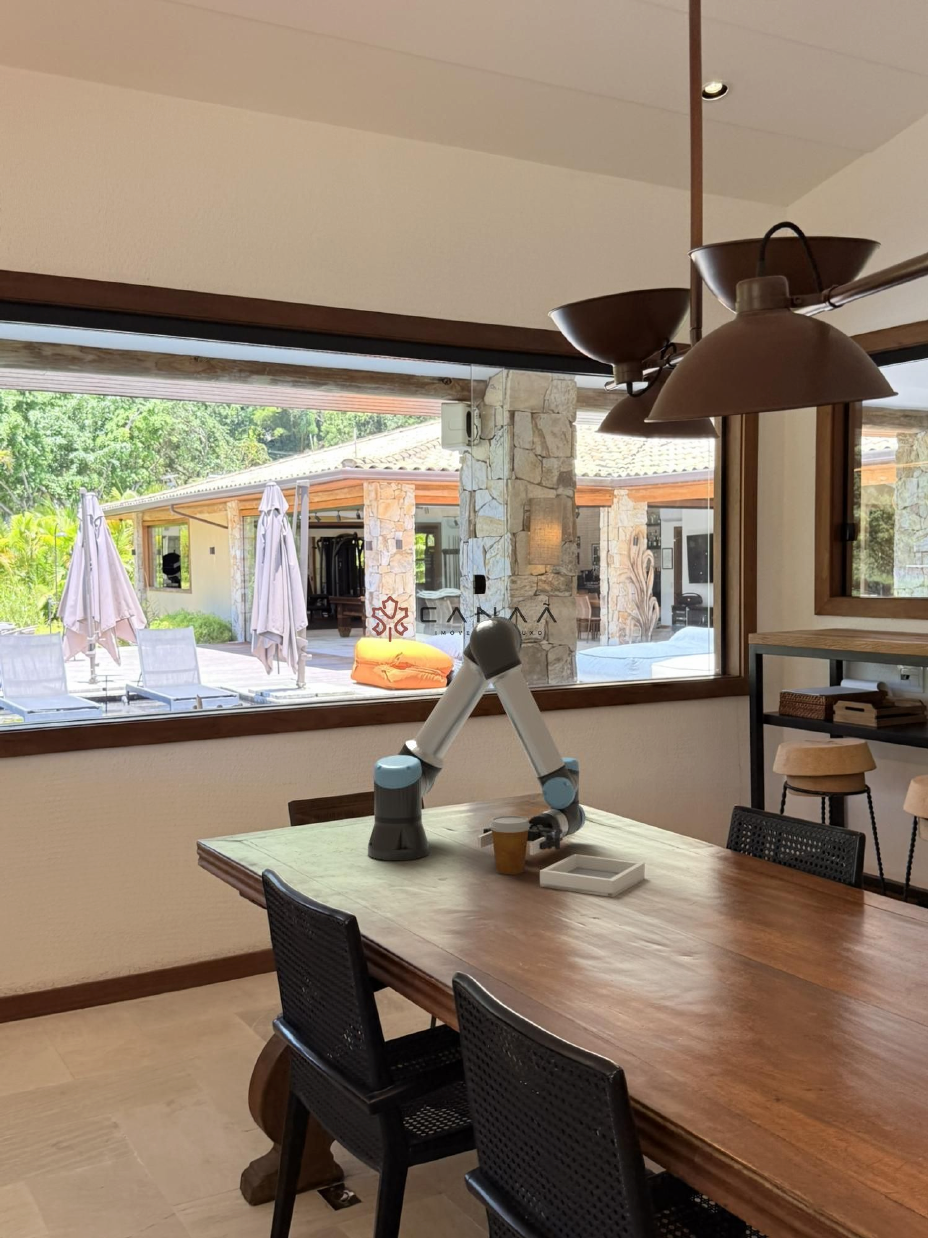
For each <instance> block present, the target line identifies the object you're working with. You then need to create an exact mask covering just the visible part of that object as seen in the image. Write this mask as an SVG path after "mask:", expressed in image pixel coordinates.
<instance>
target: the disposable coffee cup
mask: <svg viewBox="0 0 928 1238" xmlns="http://www.w3.org/2000/svg"><path fill="white" fill-rule="evenodd" d="M488 826H489V828H490V829H491V831H492V839H493V843H492V846H493V853H494V861H495V868H496V872H497V873H500V874H504V875H516V874H521V873H524V871H525V863H526V853H527V852H526V851H527V845H528V841H527V837H528V829H529V827H530V824H529V818H528V817H525V816H520V815H500V816H494V817H492V818H491V819H490V823H489V825H488Z"/></svg>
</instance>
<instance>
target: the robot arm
mask: <svg viewBox="0 0 928 1238" xmlns="http://www.w3.org/2000/svg"><path fill="white" fill-rule="evenodd" d="M469 637H470V638H469V642H468V644H467V646H466V647H465V648H464V649H463V651H462V659H463V663H462V664H461V666H460V668H458V670H457V672H456V674H455V675H454V677H453V678H452V680H451V682H450V683H449V684H448V686H447V688H446V690H444V693H443V694H442V696H441V697H440V698H439V700H438V702H437V703H436V705H435V706H434V708H433V710H432V711H431V713H430V714H429V716H428V718H427V719H426V721H425V722H424V724H423V725H422V727H421V729H420V730H419V731H418V733H417V735H416V736H415V737H414V738H413V739H410V740H406V741H405V742H404V744H403V746H402V747H401V748H400V750H399V752H398V753H397V754H396V755H389V756H387V757H382V758H380V759H378V760H377V761H376V762H375V763H374V768H373V772H372V773H373V774H372V775H373V776H372V778H373V798H374V800H373V801H374V802H373V804H374V805H373V806H374V808H373V809H374V813H373V814H374V823H373V827H372V831H371V834H370V836H369V840H368V844H367V855H368V856H369V857H370V858H372V857H373V859H375V858H378V859H377V860H380V859H383V861H392V860H399V861H410V860H416V858H417V859H420V858H424V857H427V856H428V855H429V854H430V843H429V841H428V837H427V833H426V831H425V828H424V825H423V820H422V819H423V817H422V814H423V813H422V810H423V809H422V807H423V806H422V798H423V797H424V796H426V795H427V794H428V793H429V792H431V790H432V788H433V786H434V785H435V781H436V779H437V778H438V776H439V774H440V772H441V771H442V770H443V768H444V767H445V763H444V759H443V758H444V755H445V754H446V752H447V751H448V750H449V747H450V746H451V744H452V743H453V742H454V740H455V738H456V737H457V735H458V734H459V732H460V731H461V729H462V728H463V726H464V725H465V722H467V720H468V718H469V717H470V715H471V714H472V712H473V711H474V709H475V708H476V706H477V704H478V703H479V701H480V700H481V698H482V697H483V695H484V693H485V692H486V691H487V689H488V687H489V686H490V684H492V686H493V688H494V690H495V692H496V694H497V697H498V698H499V700H500V703H501V704H502V707H503V710H504V711H505V713H506V715H507V717H508V719H509V722H510V724H511V726H512V728H513V731H514V732H515V735H516V737H517V738H518V740H519V742H520V744H521V746H522V749H523V751H524V753H525V755H526V757H527V759H528V762H529V764H530V766H531V768H532V770H533V772H534V774H535V777H536V779H537V781H538V783H539V786H540V788H541V791H542V797H543V800H544V802H545V803H546V804H547V805H548V807H549V809H548V810H546V811H543V812H541V813H539V814H536V815H533V816H532V817H531V818H530V819H528V821H529V824H530V827H529V829H528V837H527V842H529V856H534V855H536V854H538V853H540V852H543V851H545V850H547V849H548V850H551V849H553V848H554V849H555V850H560V849H561V842H562V841H563V838H565V837H568V836H570V835H574V834H575V833H576V832H579V831H580V830H581V829H582V827H583V826H585V825H584V824H585V823H586V819H587V818H586V813H585V811H584V808H583V807H582V806H581V805H580V799H579V795H580V793H579V792H580V768H579V767H580V766H579V760H577V759H576V758H573V757H562V756H561V754H560V751H559V749H558V747H557V744H556V743H555V740H554V739H553V736H552V733H551V732H550V730H549V728H548V725H547V723H546V721H545V719H544V718H543V717H544V716H542V713H541V711H540V709H539V706H538V704H537V702H536V701H535V698H534V696H533V694H532V692H531V690H530V687H529V686H528V683H527V682H526V681H527V680H526V679H525V677H524V675H523V673H522V667H523V663H522V660H521V659H520V656H519V654H520V652H521V650H522V646H523V634H522V631H521V630H520V628H519V626H518V625H517V623H516V622H515V621H512V620H511V619H509V618H507V617H506V616H492V617H489V618H487V619H484V620H481V621H480V622H479V623H478V624H476V625H475V627H474V628H473V629H472V631H471V634H470V636H469ZM490 845H493V839H492V831H491V829H490V827H488V828H484V829H483V834H481V835H477V848H478V849H482V848H485V847H488V846H490ZM426 855H427V856H426Z"/></svg>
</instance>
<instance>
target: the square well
mask: <svg viewBox="0 0 928 1238" xmlns="http://www.w3.org/2000/svg"><path fill="white" fill-rule="evenodd" d="M645 864H646V863H644V862H639V861H633V860H625V859H623V860H622V859H616V858H609V857H601V856H592V855H586V854H576V853H573V854H571V855H569V856H567V857H565V858H564V859H562V860H559V861H557V862H555V863H553V864H551V865H549V866H547V867H545V868H542V869H541V870H539V887H540V888H548V889H554V890H560V891H561V890H562V891H568V892H576V893H582V894H589V895H593V896H594V895H595V896H602V897H608V898H609V897H610V898H615V897H616V896H617V895H619V894H621V893H622V892H624V891H626V890H628V889H630V888H631V887H633V886H634V885H636V884H637V883H640V882H641V881H643V880H645V875H646V873H645ZM642 879H643V880H642Z"/></svg>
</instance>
